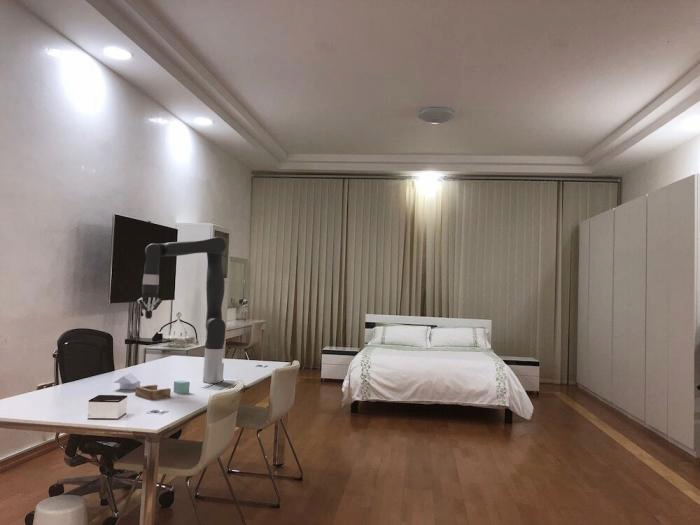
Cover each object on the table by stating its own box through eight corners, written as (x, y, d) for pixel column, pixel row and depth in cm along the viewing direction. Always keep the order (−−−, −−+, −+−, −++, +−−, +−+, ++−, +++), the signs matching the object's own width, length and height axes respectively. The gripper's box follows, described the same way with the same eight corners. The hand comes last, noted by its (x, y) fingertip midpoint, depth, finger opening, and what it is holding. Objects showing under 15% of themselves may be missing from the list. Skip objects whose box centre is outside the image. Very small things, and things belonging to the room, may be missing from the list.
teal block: (182, 391, 262) (183, 380, 263) (189, 392, 259) (189, 381, 260) (173, 392, 259) (174, 381, 259) (179, 394, 255) (180, 383, 256)
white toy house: (132, 391, 256) (142, 386, 269) (133, 376, 256) (143, 372, 269) (112, 390, 255) (124, 385, 268) (113, 375, 256) (125, 371, 269)
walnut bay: (154, 392, 255) (155, 384, 255) (170, 397, 248) (170, 388, 248) (135, 395, 248) (135, 386, 248) (150, 399, 240) (150, 391, 240)
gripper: (158, 283, 285) (156, 317, 284) (134, 282, 275) (131, 318, 274) (166, 284, 280) (164, 319, 280) (142, 283, 270) (140, 319, 269)
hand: (148, 318), depth 277 cm, fingers closed
